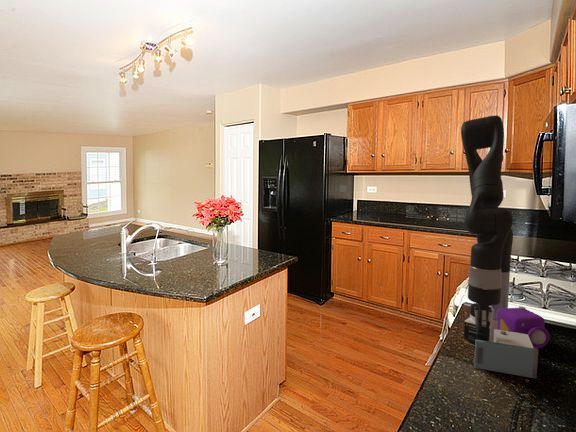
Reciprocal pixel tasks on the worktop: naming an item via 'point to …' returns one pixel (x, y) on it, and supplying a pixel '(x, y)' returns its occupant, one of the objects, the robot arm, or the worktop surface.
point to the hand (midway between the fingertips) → (481, 346)
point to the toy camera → (523, 324)
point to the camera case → (512, 338)
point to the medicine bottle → (470, 329)
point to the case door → (506, 358)
